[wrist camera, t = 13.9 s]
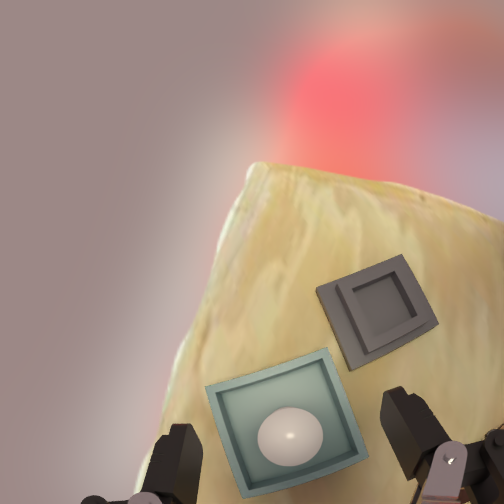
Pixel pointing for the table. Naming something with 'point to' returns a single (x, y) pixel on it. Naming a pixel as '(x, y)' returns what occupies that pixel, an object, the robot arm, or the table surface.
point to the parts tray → (277, 396)
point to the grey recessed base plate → (376, 310)
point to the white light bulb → (290, 436)
